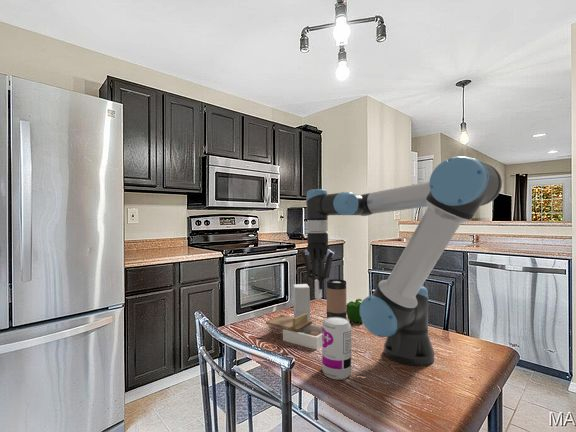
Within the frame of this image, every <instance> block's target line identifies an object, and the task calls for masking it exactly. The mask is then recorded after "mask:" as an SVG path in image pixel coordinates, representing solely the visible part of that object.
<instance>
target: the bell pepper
mask: <svg viewBox="0 0 576 432" xmlns="http://www.w3.org/2000/svg"><path fill="white" fill-rule="evenodd" d="M362 301H363V299H362V298H356V299H355V301H349V302H348V303H347V302H346V305H347V312H346V317H347V320H349V323H363V322H362V318H361V316H360V305H361V302H362Z"/></svg>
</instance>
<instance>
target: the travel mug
mask: <svg viewBox="0 0 576 432" xmlns="http://www.w3.org/2000/svg"><path fill="white" fill-rule="evenodd" d="M329 317H341V318H345V319H347V280H344V279H340V278H339V279H335V278H334V279H333V278H332V279H328V281H326V318H329Z"/></svg>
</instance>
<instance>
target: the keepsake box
mask: <svg viewBox="0 0 576 432" xmlns="http://www.w3.org/2000/svg"><path fill="white" fill-rule="evenodd" d="M312 330H314V331H320V334H319V335H318V336H312V335H310V332H311V331H312ZM301 331H304V332H305V334H304V333H300V332H296V331H293V330H289V329H285V328H282V341H283V342H288V343H291V344H294V345H298V346H301V347H306V348H309V349H312V350H319V349H320V348H322V326H319V325H314V324H311V325H309V326H307V327H305V328H303V329H301Z"/></svg>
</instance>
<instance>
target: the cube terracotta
mask: <svg viewBox="0 0 576 432" xmlns="http://www.w3.org/2000/svg"><path fill="white" fill-rule="evenodd" d="M319 334H320V331H314V330H312V331H311V332H310V335H312V336H318V335H319Z"/></svg>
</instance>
